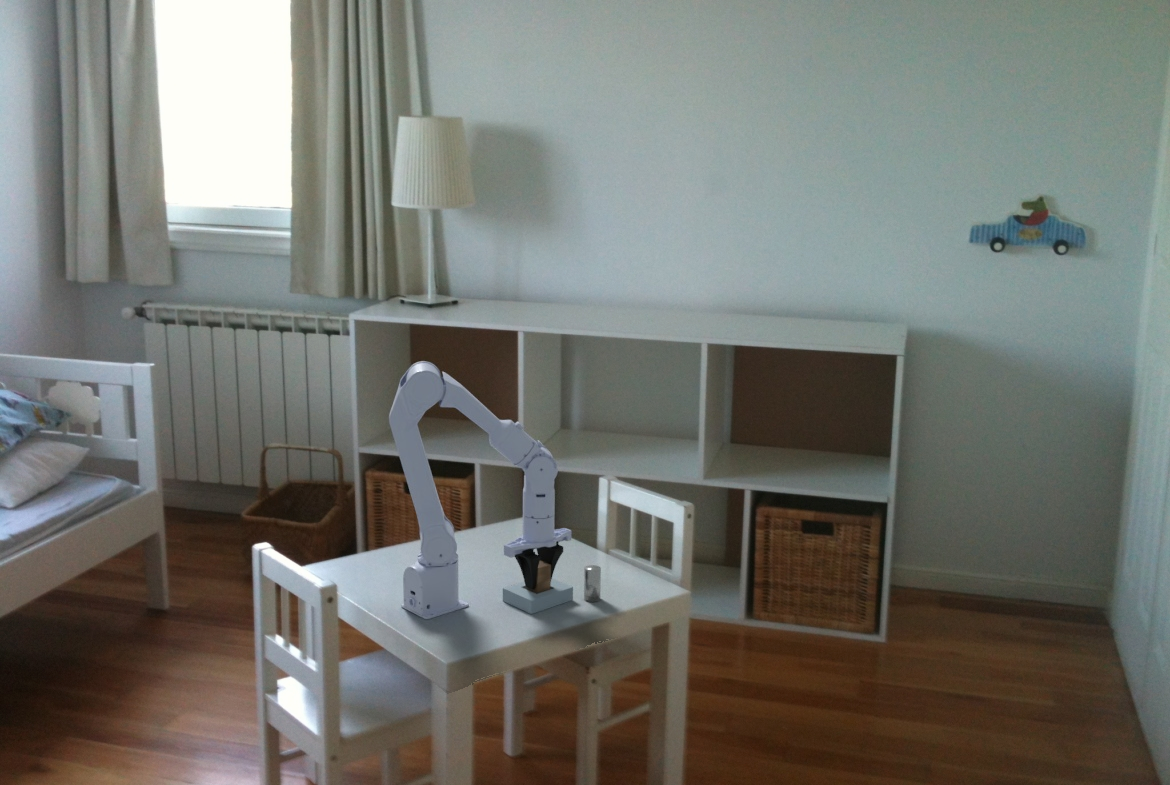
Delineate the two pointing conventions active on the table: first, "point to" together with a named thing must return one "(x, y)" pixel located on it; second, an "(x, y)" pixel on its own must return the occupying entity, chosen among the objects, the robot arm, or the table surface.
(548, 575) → the square bit
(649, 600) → the table surface
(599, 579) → the cylinder
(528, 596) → the socket block
